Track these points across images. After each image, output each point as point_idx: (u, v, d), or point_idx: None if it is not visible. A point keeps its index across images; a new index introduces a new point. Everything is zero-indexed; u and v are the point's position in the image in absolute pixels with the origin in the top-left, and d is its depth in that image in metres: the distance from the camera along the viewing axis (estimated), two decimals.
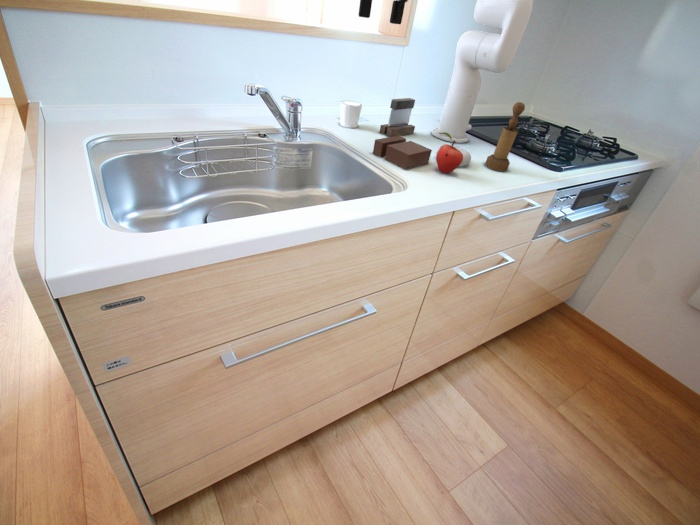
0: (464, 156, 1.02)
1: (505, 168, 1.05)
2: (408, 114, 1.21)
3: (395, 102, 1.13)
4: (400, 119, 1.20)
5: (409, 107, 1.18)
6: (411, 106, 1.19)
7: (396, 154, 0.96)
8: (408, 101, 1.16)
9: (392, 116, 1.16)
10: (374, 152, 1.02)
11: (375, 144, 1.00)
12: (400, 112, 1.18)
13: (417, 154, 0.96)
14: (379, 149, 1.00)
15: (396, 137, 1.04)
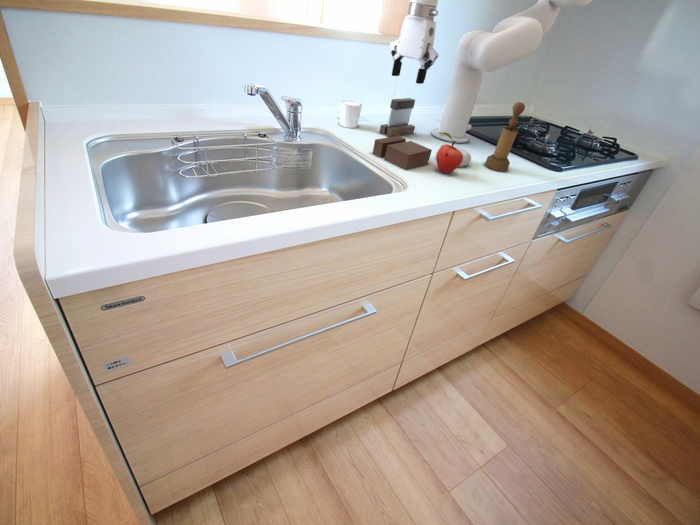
0: (464, 156, 1.02)
1: (505, 168, 1.05)
2: (408, 114, 1.21)
3: (395, 102, 1.13)
4: (400, 119, 1.20)
5: (409, 107, 1.18)
6: (411, 106, 1.19)
7: (396, 154, 0.96)
8: (408, 101, 1.16)
9: (392, 116, 1.16)
10: (374, 152, 1.02)
11: (375, 144, 1.00)
12: (400, 112, 1.18)
13: (417, 154, 0.96)
14: (379, 149, 1.00)
15: (396, 137, 1.04)
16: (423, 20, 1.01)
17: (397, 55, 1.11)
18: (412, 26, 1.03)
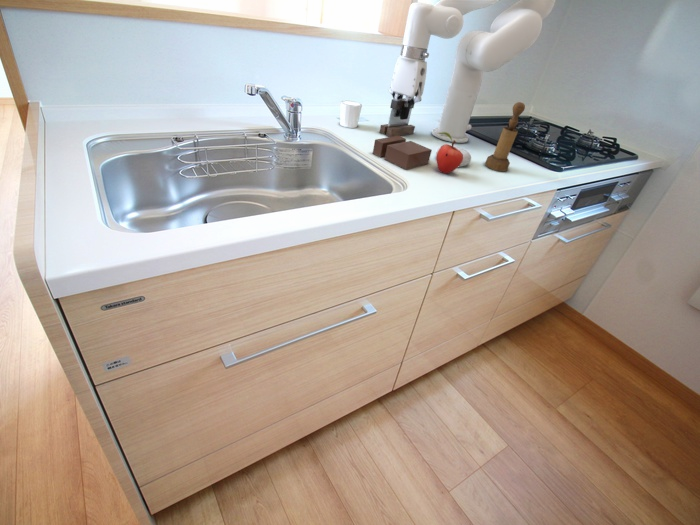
0: (464, 156, 1.02)
1: (505, 168, 1.05)
2: None
3: (395, 102, 1.13)
4: (400, 119, 1.20)
5: None
6: (411, 106, 1.19)
7: (396, 154, 0.96)
8: None
9: (392, 117, 1.16)
10: (374, 152, 1.02)
11: (375, 144, 1.00)
12: (400, 112, 1.18)
13: (417, 154, 0.96)
14: (379, 149, 1.00)
15: (396, 137, 1.04)
16: (415, 61, 1.07)
17: (396, 96, 1.16)
18: (404, 66, 1.09)
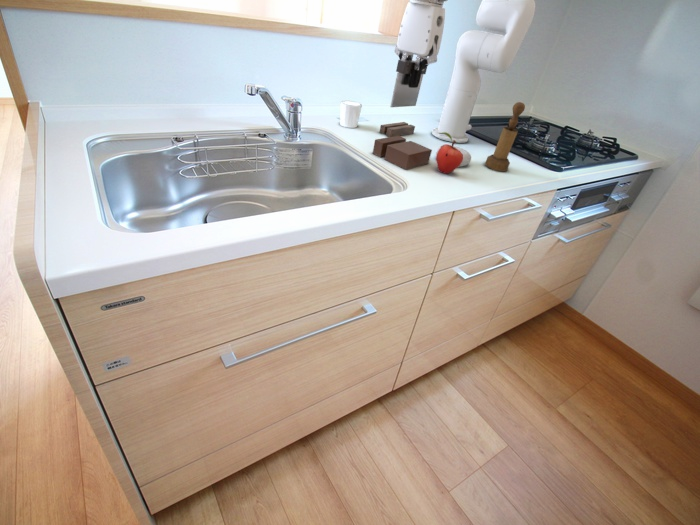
0: (464, 156, 1.02)
1: (505, 168, 1.05)
2: None
3: (403, 63, 0.87)
4: (408, 88, 0.94)
5: None
6: (423, 71, 0.93)
7: (396, 154, 0.96)
8: None
9: (399, 83, 0.90)
10: (374, 152, 1.02)
11: (375, 144, 1.00)
12: (408, 78, 0.92)
13: (417, 154, 0.96)
14: (379, 149, 1.00)
15: (396, 137, 1.04)
16: (430, 6, 0.81)
17: (404, 57, 0.90)
18: (416, 14, 0.83)
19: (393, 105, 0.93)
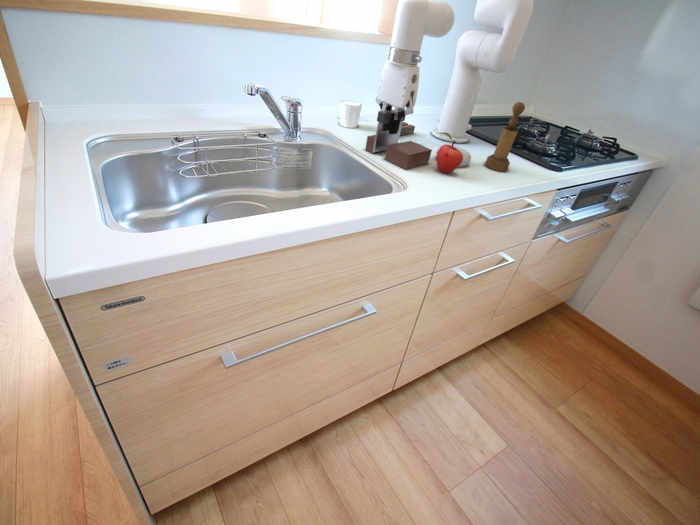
0: (464, 156, 1.02)
1: (505, 168, 1.05)
2: None
3: (382, 115, 0.96)
4: (389, 134, 1.02)
5: None
6: (402, 119, 1.01)
7: (396, 154, 0.96)
8: None
9: (379, 131, 0.99)
10: (367, 148, 1.03)
11: (367, 140, 1.02)
12: (388, 126, 1.00)
13: (417, 154, 0.96)
14: (371, 145, 1.02)
15: None
16: (405, 67, 0.89)
17: (384, 107, 0.99)
18: (393, 72, 0.92)
19: (375, 150, 1.02)
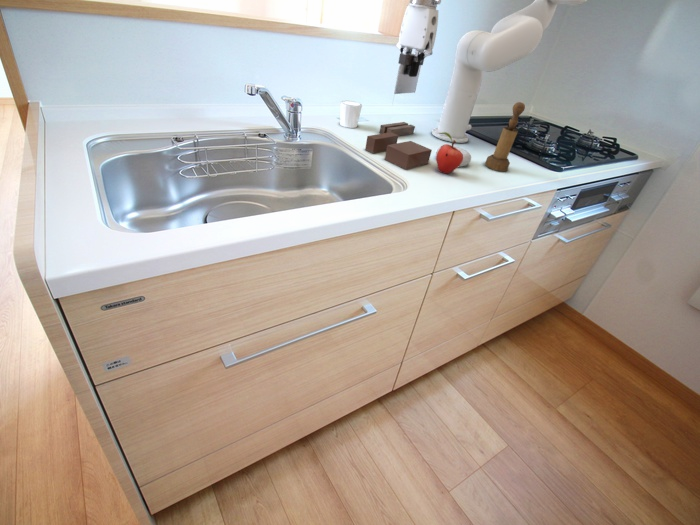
0: (464, 156, 1.02)
1: (505, 168, 1.05)
2: None
3: (404, 56, 1.05)
4: (409, 77, 1.11)
5: None
6: (420, 62, 1.10)
7: (396, 154, 0.96)
8: None
9: (400, 73, 1.08)
10: (367, 148, 1.03)
11: (367, 140, 1.02)
12: (408, 69, 1.09)
13: (417, 154, 0.96)
14: (371, 145, 1.02)
15: (388, 134, 1.06)
16: (426, 9, 0.98)
17: (404, 50, 1.08)
18: (414, 15, 1.01)
19: (396, 92, 1.11)
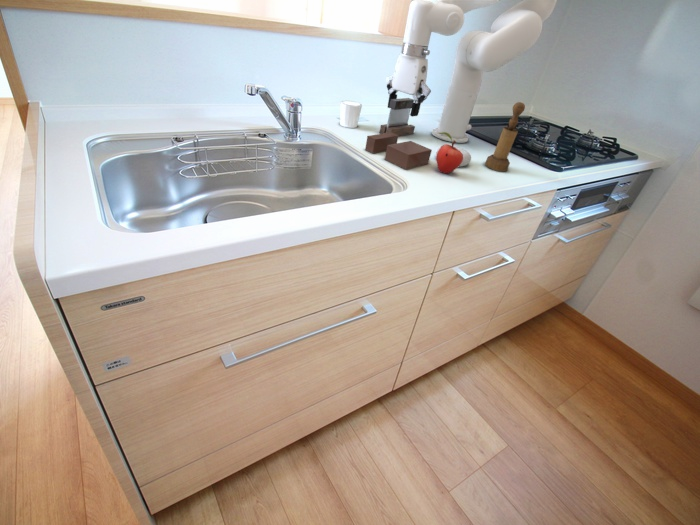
0: (464, 156, 1.02)
1: (505, 168, 1.05)
2: (407, 114, 1.21)
3: (394, 102, 1.13)
4: (399, 119, 1.19)
5: (408, 107, 1.18)
6: (410, 106, 1.18)
7: (396, 154, 0.96)
8: (407, 101, 1.16)
9: (391, 116, 1.16)
10: (367, 148, 1.03)
11: (367, 140, 1.02)
12: (399, 112, 1.18)
13: (417, 154, 0.96)
14: (371, 145, 1.02)
15: (388, 134, 1.06)
16: (416, 59, 1.06)
17: (392, 89, 1.17)
18: (405, 64, 1.09)
19: None
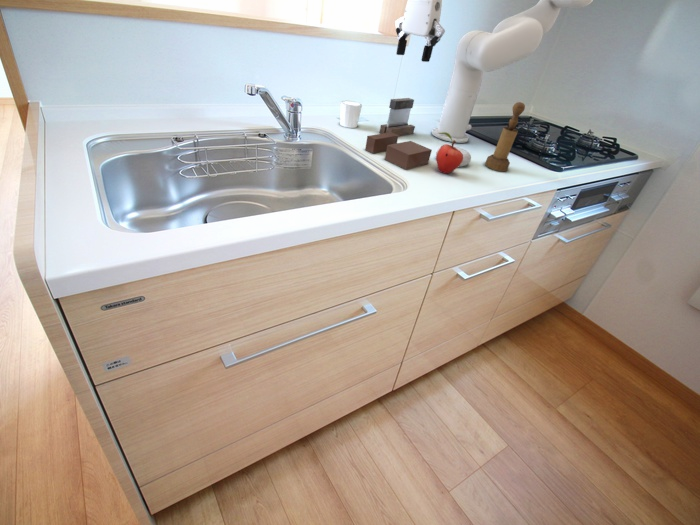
0: (464, 156, 1.02)
1: (505, 168, 1.05)
2: (407, 114, 1.21)
3: (394, 102, 1.13)
4: (399, 119, 1.19)
5: (408, 107, 1.18)
6: (410, 106, 1.18)
7: (396, 154, 0.96)
8: (407, 101, 1.16)
9: (391, 116, 1.16)
10: (367, 148, 1.03)
11: (367, 140, 1.02)
12: (399, 112, 1.18)
13: (417, 154, 0.96)
14: (371, 145, 1.02)
15: (388, 134, 1.06)
16: None
17: (402, 33, 1.08)
18: (418, 1, 1.00)
19: None
